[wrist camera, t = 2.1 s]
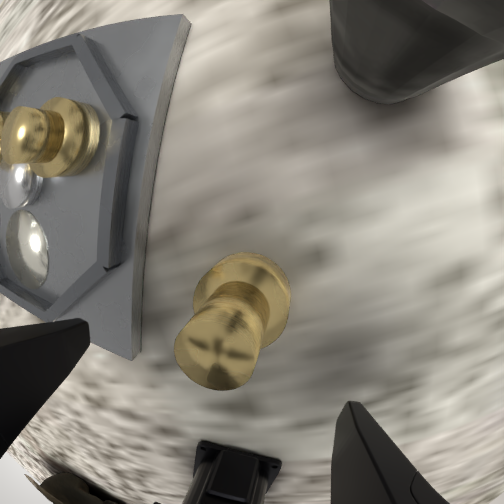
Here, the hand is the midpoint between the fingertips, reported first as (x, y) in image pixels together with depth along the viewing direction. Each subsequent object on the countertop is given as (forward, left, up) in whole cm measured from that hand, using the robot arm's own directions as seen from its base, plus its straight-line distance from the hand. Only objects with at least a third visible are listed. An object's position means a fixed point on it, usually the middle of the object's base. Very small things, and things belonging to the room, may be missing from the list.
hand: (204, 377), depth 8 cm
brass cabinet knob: (0, 0, -7) cm, 7 cm away
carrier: (+4, +16, -7) cm, 18 cm away
